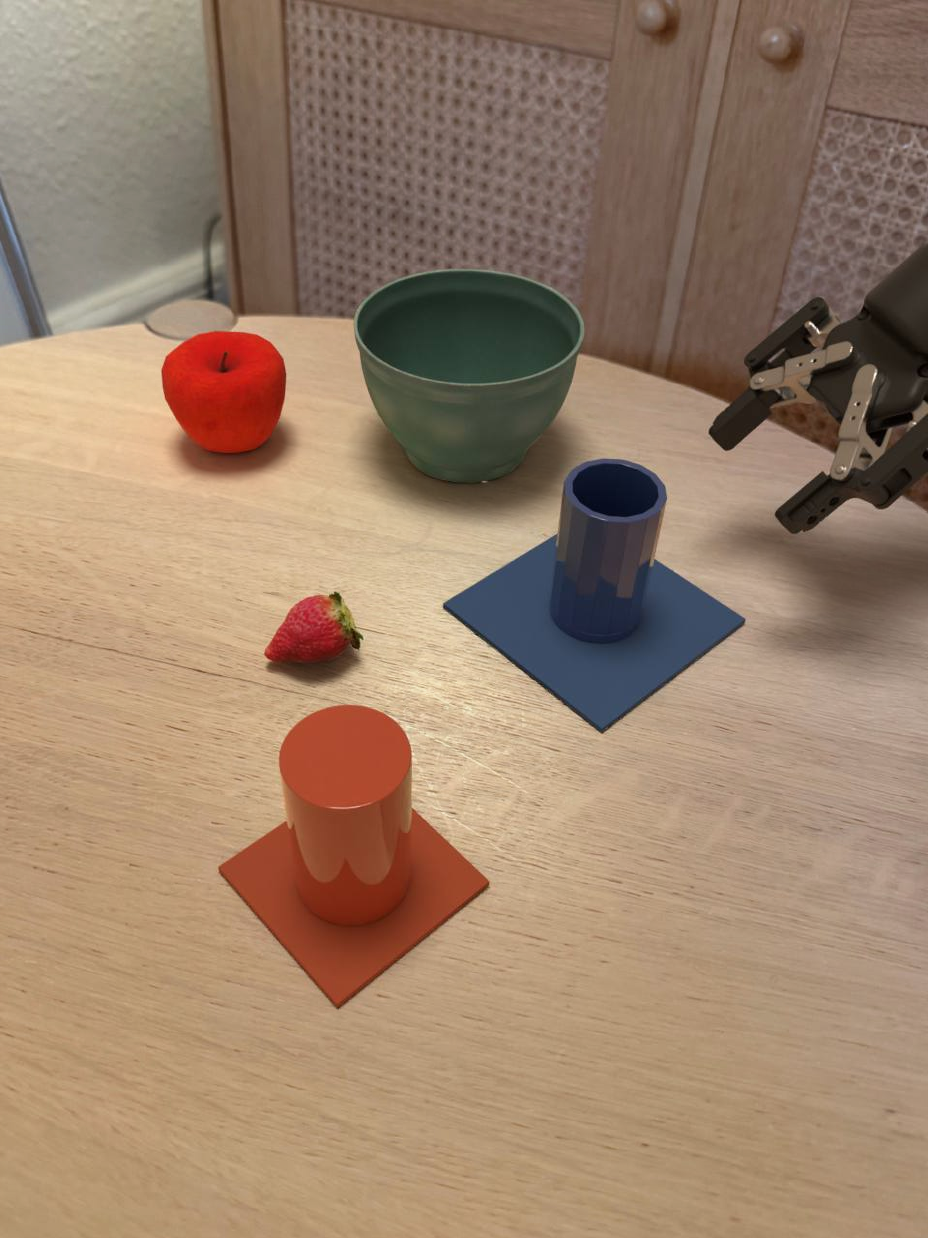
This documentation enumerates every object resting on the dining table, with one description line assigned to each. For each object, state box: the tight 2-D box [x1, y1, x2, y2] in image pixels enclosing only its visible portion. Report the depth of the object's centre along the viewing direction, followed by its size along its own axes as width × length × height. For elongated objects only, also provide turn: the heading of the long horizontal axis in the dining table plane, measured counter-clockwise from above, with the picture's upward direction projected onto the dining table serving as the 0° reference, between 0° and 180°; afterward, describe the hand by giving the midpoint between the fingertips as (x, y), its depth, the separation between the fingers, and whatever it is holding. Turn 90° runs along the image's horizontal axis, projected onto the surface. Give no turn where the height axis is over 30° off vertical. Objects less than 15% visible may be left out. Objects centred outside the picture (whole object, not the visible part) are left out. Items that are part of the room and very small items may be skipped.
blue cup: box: [549, 458, 668, 643], centre depth 67 cm, size 6×6×10 cm
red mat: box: [217, 807, 491, 1009], centre depth 56 cm, size 10×10×1 cm
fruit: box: [263, 591, 364, 664], centre depth 66 cm, size 4×6×5 cm
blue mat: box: [442, 532, 747, 733], centre depth 71 cm, size 14×14×1 cm
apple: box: [160, 330, 287, 454], centre depth 80 cm, size 9×9×8 cm
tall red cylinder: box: [278, 704, 413, 926], centre depth 52 cm, size 6×6×10 cm
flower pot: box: [353, 268, 585, 484], centre depth 79 cm, size 16×16×11 cm
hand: (748, 482), depth 67 cm, fingers open, 8 cm apart
